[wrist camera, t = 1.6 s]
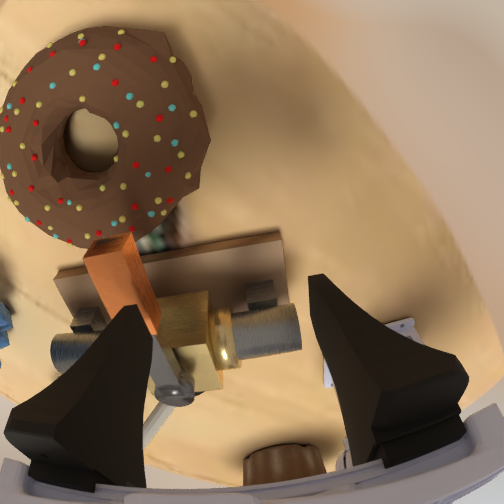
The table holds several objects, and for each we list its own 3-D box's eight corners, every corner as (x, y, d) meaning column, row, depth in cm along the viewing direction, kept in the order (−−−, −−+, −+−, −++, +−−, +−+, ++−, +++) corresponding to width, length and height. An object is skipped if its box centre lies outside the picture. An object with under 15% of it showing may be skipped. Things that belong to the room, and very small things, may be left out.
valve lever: (199, 383, 19) (198, 407, 18) (164, 386, 19) (162, 410, 18) (138, 227, 14) (127, 249, 12) (92, 237, 14) (77, 259, 12)
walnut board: (279, 231, 23) (281, 239, 22) (289, 323, 28) (291, 333, 27) (58, 271, 23) (53, 279, 22) (100, 348, 28) (97, 357, 27)
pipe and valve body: (284, 266, 23) (303, 327, 18) (289, 314, 25) (305, 375, 20) (64, 301, 23) (36, 356, 18) (87, 340, 26) (67, 396, 20)
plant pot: (343, 456, 46) (363, 535, 32) (259, 480, 49) (268, 555, 35) (314, 425, 38) (338, 533, 24) (210, 454, 41) (214, 551, 27)
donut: (125, 259, 23) (107, 301, 19) (-3, 154, 18) (-42, 176, 14) (259, 114, 19) (270, 126, 15) (106, -11, 13) (74, -30, 9)
